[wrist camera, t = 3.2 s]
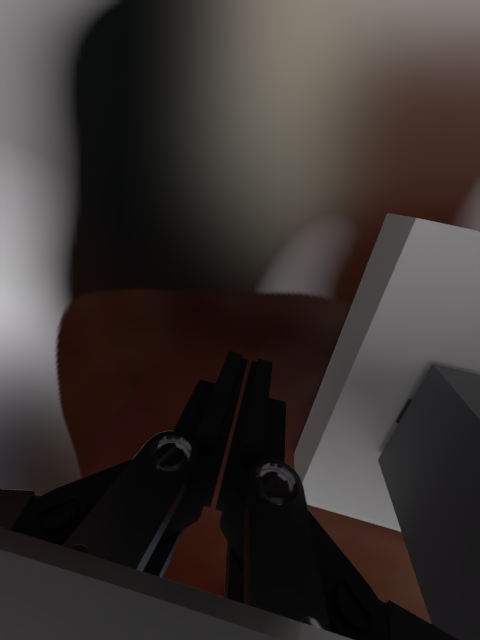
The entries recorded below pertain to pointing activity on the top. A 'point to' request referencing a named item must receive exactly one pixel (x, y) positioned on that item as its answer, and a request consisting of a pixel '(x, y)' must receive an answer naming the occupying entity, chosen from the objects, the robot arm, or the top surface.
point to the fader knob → (441, 495)
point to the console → (389, 360)
